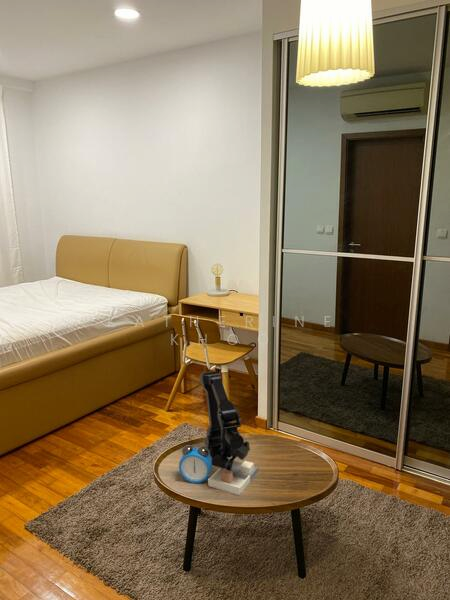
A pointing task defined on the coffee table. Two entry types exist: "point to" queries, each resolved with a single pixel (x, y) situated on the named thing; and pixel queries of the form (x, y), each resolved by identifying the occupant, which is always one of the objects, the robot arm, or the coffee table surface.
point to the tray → (233, 487)
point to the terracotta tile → (226, 476)
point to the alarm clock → (195, 463)
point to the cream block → (247, 467)
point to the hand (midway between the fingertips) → (229, 471)
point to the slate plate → (238, 473)
